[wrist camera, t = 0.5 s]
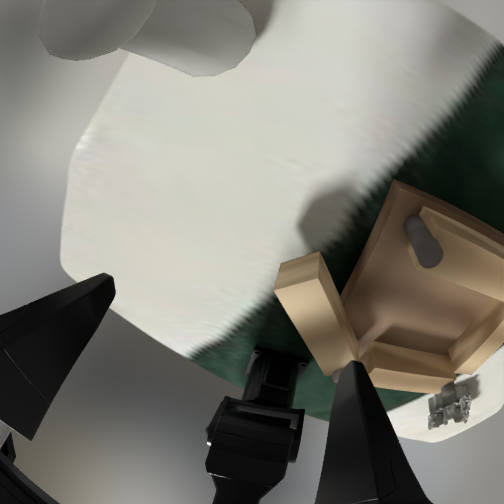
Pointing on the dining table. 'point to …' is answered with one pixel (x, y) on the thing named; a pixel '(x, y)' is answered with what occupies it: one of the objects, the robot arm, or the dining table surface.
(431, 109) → the dining table surface
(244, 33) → the salt shaker
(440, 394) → the grey jagged rock
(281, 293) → the hinged leg
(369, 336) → the wooden slat frame
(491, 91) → the dining table surface
